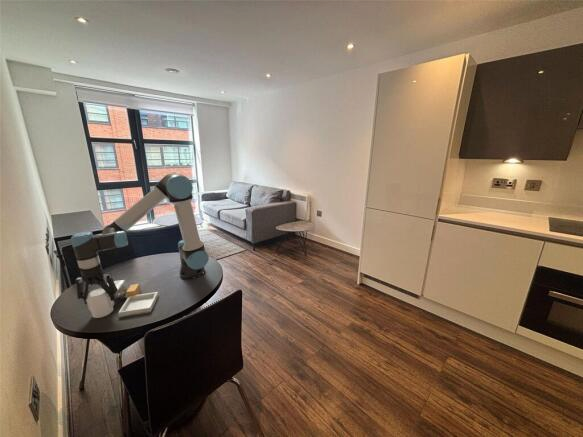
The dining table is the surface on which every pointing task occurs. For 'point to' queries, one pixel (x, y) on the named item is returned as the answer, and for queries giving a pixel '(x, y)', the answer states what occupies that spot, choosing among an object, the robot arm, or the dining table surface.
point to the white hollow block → (120, 290)
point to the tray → (138, 304)
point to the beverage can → (99, 303)
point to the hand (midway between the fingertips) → (102, 307)
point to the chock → (133, 290)
